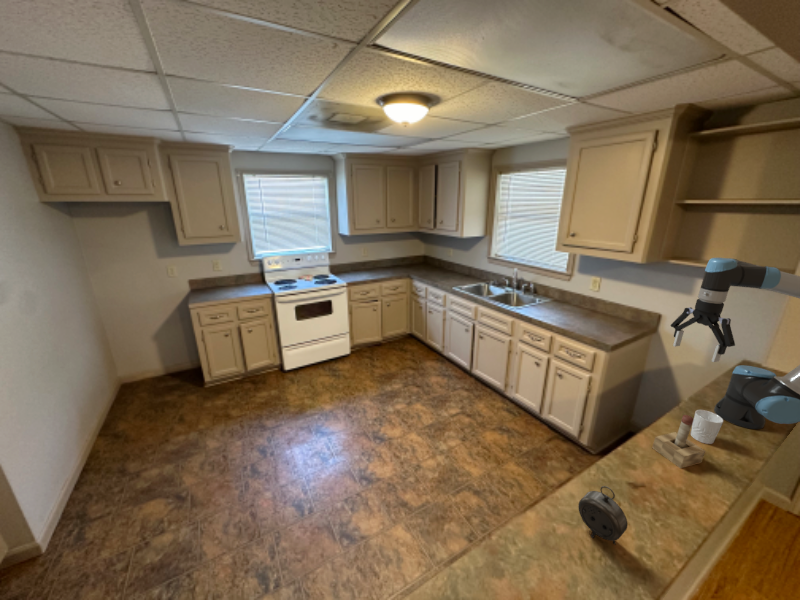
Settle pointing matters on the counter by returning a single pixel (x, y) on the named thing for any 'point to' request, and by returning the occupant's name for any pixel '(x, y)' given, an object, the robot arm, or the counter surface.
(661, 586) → the counter surface
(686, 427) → the brown-tipped rod
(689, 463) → the bead block
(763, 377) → the robot arm
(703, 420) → the white cup
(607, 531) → the alarm clock
